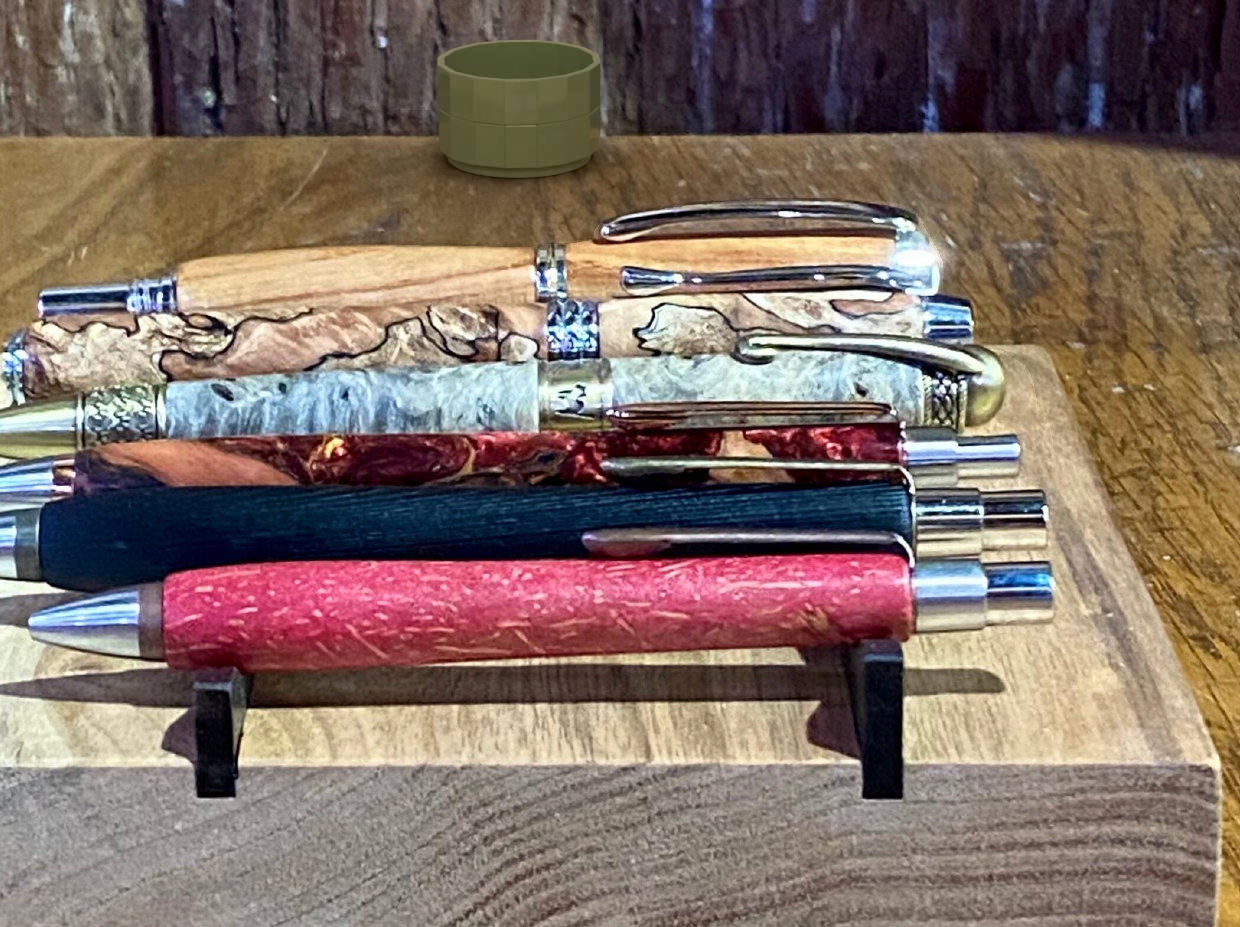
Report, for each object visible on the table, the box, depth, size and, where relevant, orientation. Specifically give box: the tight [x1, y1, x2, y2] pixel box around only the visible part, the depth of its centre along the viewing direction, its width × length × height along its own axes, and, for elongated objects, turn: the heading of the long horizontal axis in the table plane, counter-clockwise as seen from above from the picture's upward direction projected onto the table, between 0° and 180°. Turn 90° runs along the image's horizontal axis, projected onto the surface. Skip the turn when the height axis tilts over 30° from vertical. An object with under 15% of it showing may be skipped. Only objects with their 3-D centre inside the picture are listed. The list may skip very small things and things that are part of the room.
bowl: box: [437, 39, 601, 179], centre depth 114 cm, size 8×8×5 cm
